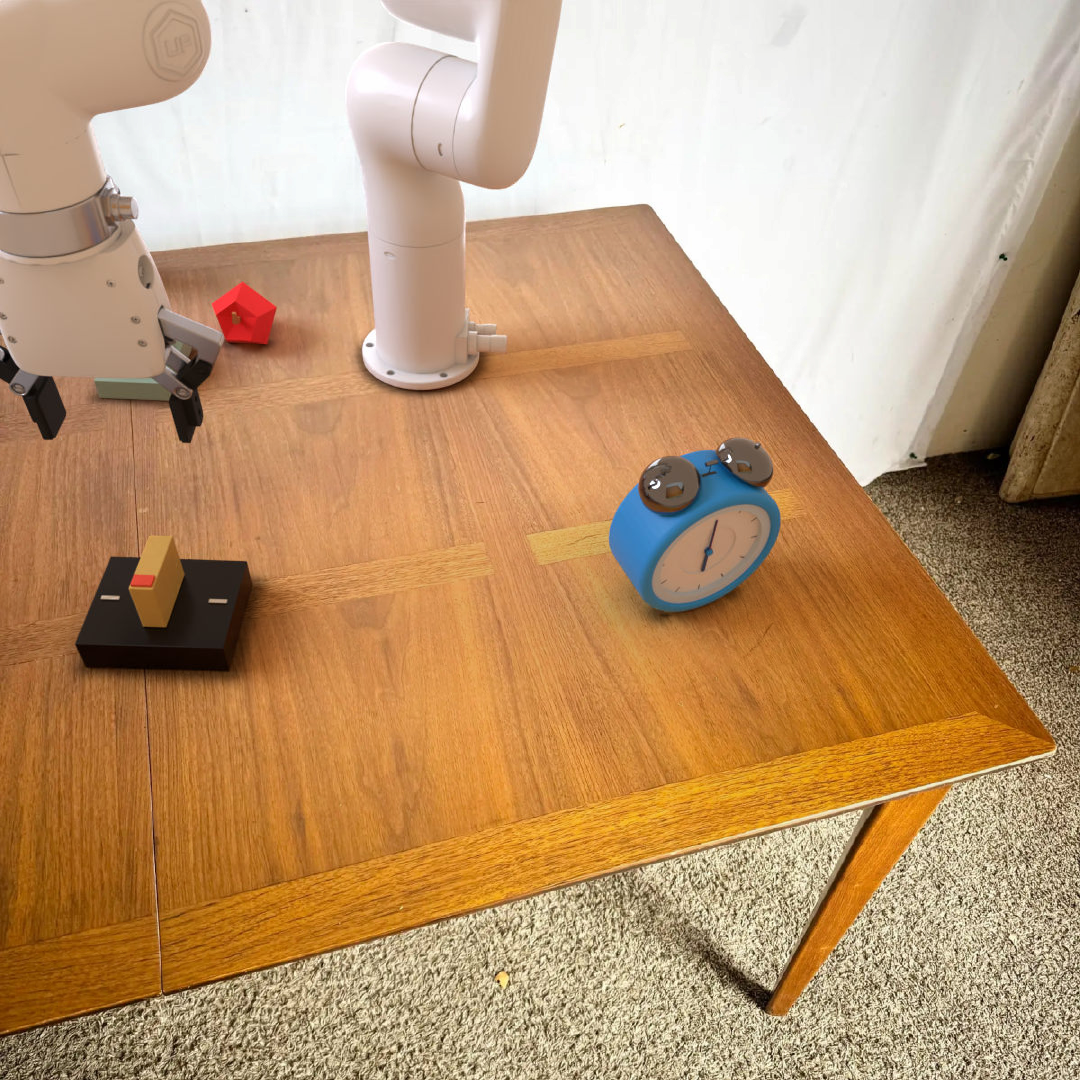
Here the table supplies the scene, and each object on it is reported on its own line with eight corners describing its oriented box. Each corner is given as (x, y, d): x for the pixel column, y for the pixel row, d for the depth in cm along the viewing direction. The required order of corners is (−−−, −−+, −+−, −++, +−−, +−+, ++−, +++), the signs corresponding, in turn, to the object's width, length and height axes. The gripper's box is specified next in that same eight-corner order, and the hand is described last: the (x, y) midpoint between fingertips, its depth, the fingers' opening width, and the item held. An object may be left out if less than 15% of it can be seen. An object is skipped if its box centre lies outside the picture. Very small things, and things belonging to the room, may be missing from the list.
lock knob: (162, 573, 77) (148, 532, 74) (185, 574, 77) (172, 533, 74) (142, 627, 73) (127, 586, 70) (166, 627, 73) (152, 587, 70)
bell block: (125, 346, 103) (116, 314, 100) (192, 349, 103) (184, 317, 100) (99, 398, 97) (88, 365, 94) (170, 401, 97) (161, 368, 94)
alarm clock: (631, 633, 80) (657, 504, 69) (597, 581, 83) (617, 450, 73) (762, 589, 84) (807, 460, 73) (725, 541, 88) (761, 412, 77)
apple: (225, 268, 105) (202, 281, 97) (287, 284, 106) (269, 299, 98) (217, 329, 108) (194, 346, 100) (278, 344, 108) (260, 363, 101)
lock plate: (253, 584, 81) (246, 559, 79) (229, 671, 75) (222, 647, 72) (120, 580, 80) (110, 554, 78) (85, 667, 74) (73, 642, 72)
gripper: (207, 188, 61) (251, 400, 74) (-73, 178, 60) (20, 394, 73) (180, 249, 56) (233, 466, 69) (-126, 239, 55) (-17, 461, 68)
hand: (123, 429), depth 71 cm, fingers open, 9 cm apart
